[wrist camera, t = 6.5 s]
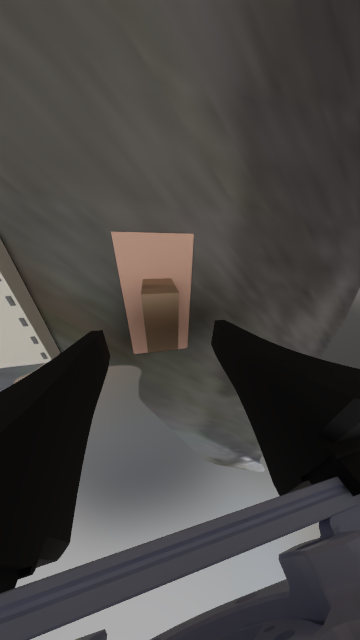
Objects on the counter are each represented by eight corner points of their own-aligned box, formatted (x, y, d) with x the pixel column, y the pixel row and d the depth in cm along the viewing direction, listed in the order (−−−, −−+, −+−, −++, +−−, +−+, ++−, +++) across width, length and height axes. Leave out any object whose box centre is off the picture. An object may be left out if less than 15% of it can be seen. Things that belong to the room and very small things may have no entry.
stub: (184, 340, 19) (196, 374, 14) (134, 345, 18) (130, 384, 13) (189, 234, 13) (212, 232, 8) (114, 232, 12) (93, 229, 7)
